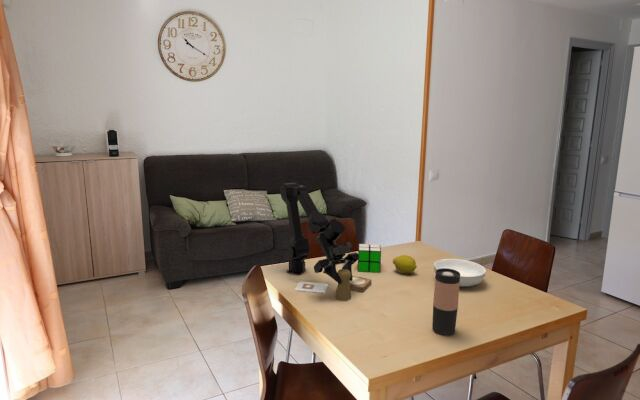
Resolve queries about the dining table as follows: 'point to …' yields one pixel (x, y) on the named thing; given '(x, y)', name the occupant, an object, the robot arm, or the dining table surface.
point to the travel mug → (445, 301)
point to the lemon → (405, 264)
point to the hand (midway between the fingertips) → (346, 282)
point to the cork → (344, 285)
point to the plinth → (359, 283)
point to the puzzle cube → (369, 258)
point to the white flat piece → (311, 287)
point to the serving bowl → (463, 270)
